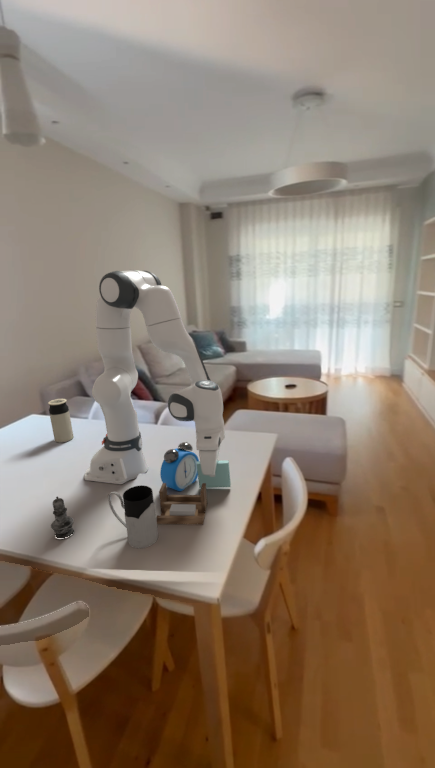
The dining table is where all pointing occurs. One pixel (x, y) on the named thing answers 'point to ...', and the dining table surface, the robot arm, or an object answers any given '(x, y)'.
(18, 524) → the dining table surface
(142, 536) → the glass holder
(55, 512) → the dark grey figurine
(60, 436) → the travel mug
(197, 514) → the oak offcut
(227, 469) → the panel
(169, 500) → the rack
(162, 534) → the dining table surface
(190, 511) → the grey offcut
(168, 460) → the alarm clock
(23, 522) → the dining table surface
